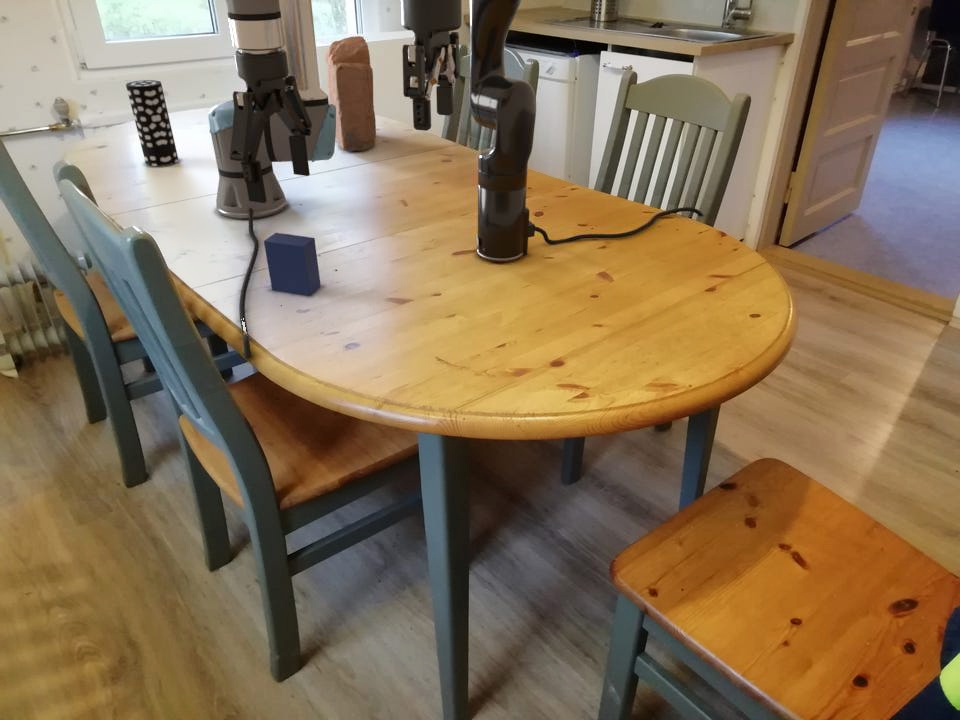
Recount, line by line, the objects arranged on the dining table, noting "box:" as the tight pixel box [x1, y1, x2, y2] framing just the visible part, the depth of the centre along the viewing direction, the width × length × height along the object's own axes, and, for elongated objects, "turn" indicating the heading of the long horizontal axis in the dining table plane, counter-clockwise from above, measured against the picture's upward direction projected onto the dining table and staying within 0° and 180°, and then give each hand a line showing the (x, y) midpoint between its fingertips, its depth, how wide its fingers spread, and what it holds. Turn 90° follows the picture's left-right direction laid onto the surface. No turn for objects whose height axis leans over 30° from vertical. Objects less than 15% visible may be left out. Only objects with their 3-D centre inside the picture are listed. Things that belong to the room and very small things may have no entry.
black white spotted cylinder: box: [125, 79, 179, 167], centre depth 181 cm, size 8×8×20 cm
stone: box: [325, 35, 377, 152], centre depth 197 cm, size 22×11×28 cm, turn 18°
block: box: [263, 232, 322, 297], centre depth 122 cm, size 4×8×10 cm, turn 73°
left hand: (280, 187), depth 114 cm, fingers open, 13 cm apart
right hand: (434, 121), depth 93 cm, fingers open, 8 cm apart
